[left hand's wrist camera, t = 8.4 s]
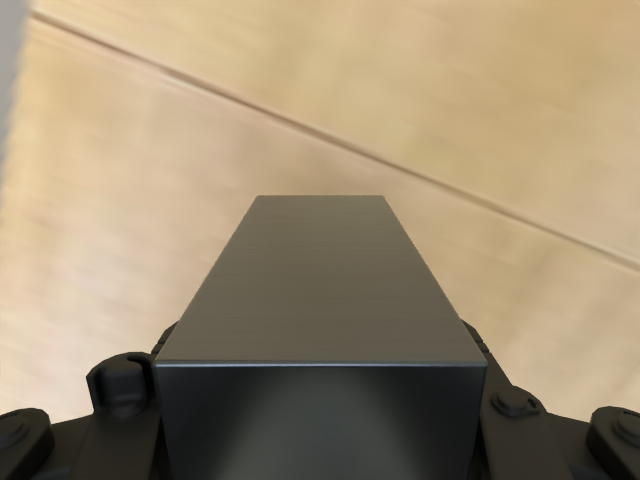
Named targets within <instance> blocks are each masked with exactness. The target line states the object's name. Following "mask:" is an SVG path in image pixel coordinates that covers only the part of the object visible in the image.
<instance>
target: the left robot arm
mask: <svg viewBox="0 0 640 480" xmlns="http://www.w3.org/2000/svg"><path fill="white" fill-rule="evenodd" d="M461 321H462V322H463V324H464V325H465V327H466V328H467V330H468V332H469V333H470V335H471V336H472V338H473V340H474V341H475V343H476V344H477V346H478V348H479V349H480V351H481V352H482V354H483V355H484V357H485V359H486V360H487V363H488V368H487V374H486V380H485V385H484V391H483V397H482V403H481V409H480V415H479V420H478V426H477V432H476V438H475V444H474V450H473V455H472V461H471V467H470V473H469V479H468V480H640V413H637V412H634V411H631V410H628V409H625V408H620V407H612V406H607V407H601V408H598V409H597V410H596V411H595V412H593V413H592V417H591V420H590V423H588V422H584V421H579V420H575V419H571V418H566V417H562V416H558V415H555V414H551V413H548V412H547V411H546V409H545V408H544V406H543V405H542V403H541V402H540V401H539V400H538V399H537V398H536V397H534V396H533V395H532V394H531V393H529V392H527V391H525V390H523V389H521V388H519V387H517V386H513V385H512V384H511V383H510V381H509V380H508V378H507V376H506V375H505V373H504V372H503V370H502V369H501V367H500V366H499V364H498V363H497V361H496V360H495V358H494V357H493V355H492V354H491V353H489V349H488V348H487V346H486V345H485V343H483V340H482V339H481V337H480V335H479V334H478V332H477V331H476V329H474V328H473V327H472V326H470V325H469V324H468V323H466V322H465V321H463V320H462V319H461ZM178 322H179V321H177V322H176V323H175V324H173V325H172V326H171V327H169V328H168V329H166V330H165V331H164V333H163V334H162V336H161V338H160V339H159V341H158V344H156V345H155V347H154V348H153V350H152V351H151V354H148V353H144V352H128V353H123V354H119V355H115V356H113V357H111V358H108V359H106V360H104V361H102V362H101V363H99V364H98V365H96V366H95V367H94V368H92V369H91V371H90V372H89V373H88V375H87V376H86V380H87V384H88V388H89V392H90V396H91V400H92V404H93V409H94V412H93V414H91V415H88V416H85V417H81V418H77V419H73V420H68V421H64V422H60V423H55V424H51V422H50V419H49V415H48V414H47V413H46V412H44V411H43V410H41V409H36V408H26V409H18V410H15V411H12V412H8V413H6V414H3V415H0V480H172V475H171V469H170V463H169V457H168V451H167V445H166V440H165V434H164V428H163V422H162V416H161V410H160V404H159V398H158V392H157V386H156V381H155V375H154V369H153V362H154V360H155V358H156V357H157V355H158V354H159V352H160V350H161V349H162V347H163V346H164V344H165V342H166V341H167V339H168V338H169V336H170V334H171V333H172V331H173V330H174V328H175V326H176V325H177V323H178Z"/></svg>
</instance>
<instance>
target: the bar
mask: <svg viewBox="0 0 640 480" xmlns="http://www.w3.org/2000/svg"><path fill="white" fill-rule="evenodd" d="M487 368H488V363H487V360H486V359H485V357H484V355H483V354H482V352H481V351H480V349H479V348H478V346H477V344H476V343H475V341H474V340H473V338H472V336H471V335H470V333H469V332H468V330H467V328H466V327H465V325H464V324H463V322H462V321H461V319H460V317H459V316H458V314H457V313H456V311H455V309H454V308H453V306H452V305H451V303H450V301H449V300H448V298H447V297H446V295H445V294H444V292H443V290H442V289H441V287H440V286H439V284H438V282H437V281H436V279H435V278H434V276H433V274H432V273H431V271H430V270H429V268H428V267H427V265H426V263H425V262H424V260H423V259H422V257H421V255H420V254H419V252H418V251H417V249H416V248H415V246H414V244H413V243H412V241H411V240H410V238H409V236H408V235H407V233H406V232H405V230H404V228H403V227H402V225H401V224H400V222H399V221H398V219H397V217H396V216H395V214H394V213H393V211H392V209H391V208H390V206H389V205H388V203H387V201H386V200H385V198H384V197H383V196H257V197H256V199H255V200H254V202H253V203H252V205H251V207H250V208H249V210H248V211H247V213H246V215H245V216H244V218H243V219H242V221H241V223H240V224H239V226H238V227H237V229H236V231H235V232H234V234H233V235H232V237H231V238H230V240H229V242H228V243H227V245H226V246H225V248H224V250H223V251H222V253H221V254H220V256H219V258H218V259H217V261H216V262H215V264H214V266H213V267H212V269H211V270H210V272H209V274H208V275H207V277H206V278H205V280H204V282H203V283H202V285H201V286H200V288H199V290H198V291H197V293H196V294H195V296H194V298H193V299H192V301H191V302H190V304H189V306H188V307H187V309H186V310H185V312H184V314H183V315H182V317H181V318H180V320H179V322H178V323H177V325H176V326H175V328H174V330H173V331H172V333H171V334H170V336H169V338H168V339H167V341H166V342H165V344H164V346H163V347H162V349H161V350H160V352H159V354H158V355H157V357H156V358H155V360H154V362H153V369H154V375H155V381H156V386H157V392H158V398H159V404H160V410H161V416H162V422H163V428H164V434H165V440H166V445H167V451H168V457H169V463H170V469H171V475H172V480H468V479H469V473H470V467H471V461H472V455H473V450H474V444H475V438H476V432H477V426H478V420H479V415H480V409H481V403H482V397H483V391H484V385H485V380H486V374H487Z"/></svg>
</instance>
